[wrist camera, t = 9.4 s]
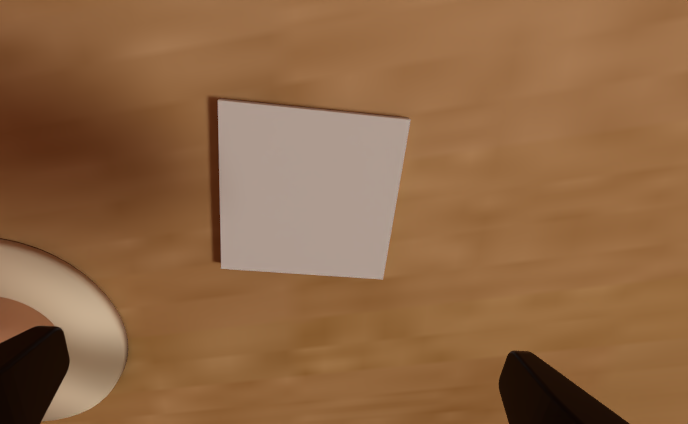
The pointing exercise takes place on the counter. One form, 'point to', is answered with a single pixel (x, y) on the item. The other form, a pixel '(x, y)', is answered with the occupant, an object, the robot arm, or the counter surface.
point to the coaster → (69, 323)
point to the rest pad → (307, 188)
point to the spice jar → (18, 318)
